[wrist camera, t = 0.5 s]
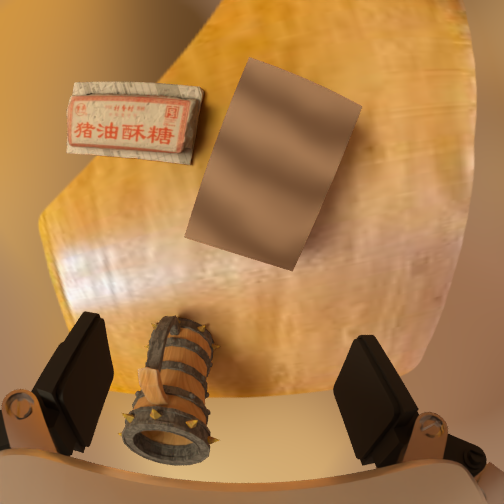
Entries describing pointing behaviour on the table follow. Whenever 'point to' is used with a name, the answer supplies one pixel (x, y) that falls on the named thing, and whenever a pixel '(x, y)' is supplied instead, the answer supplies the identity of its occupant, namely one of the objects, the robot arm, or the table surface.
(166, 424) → the mug
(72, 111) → the packaged product
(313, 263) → the table surface
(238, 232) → the walnut shelf
